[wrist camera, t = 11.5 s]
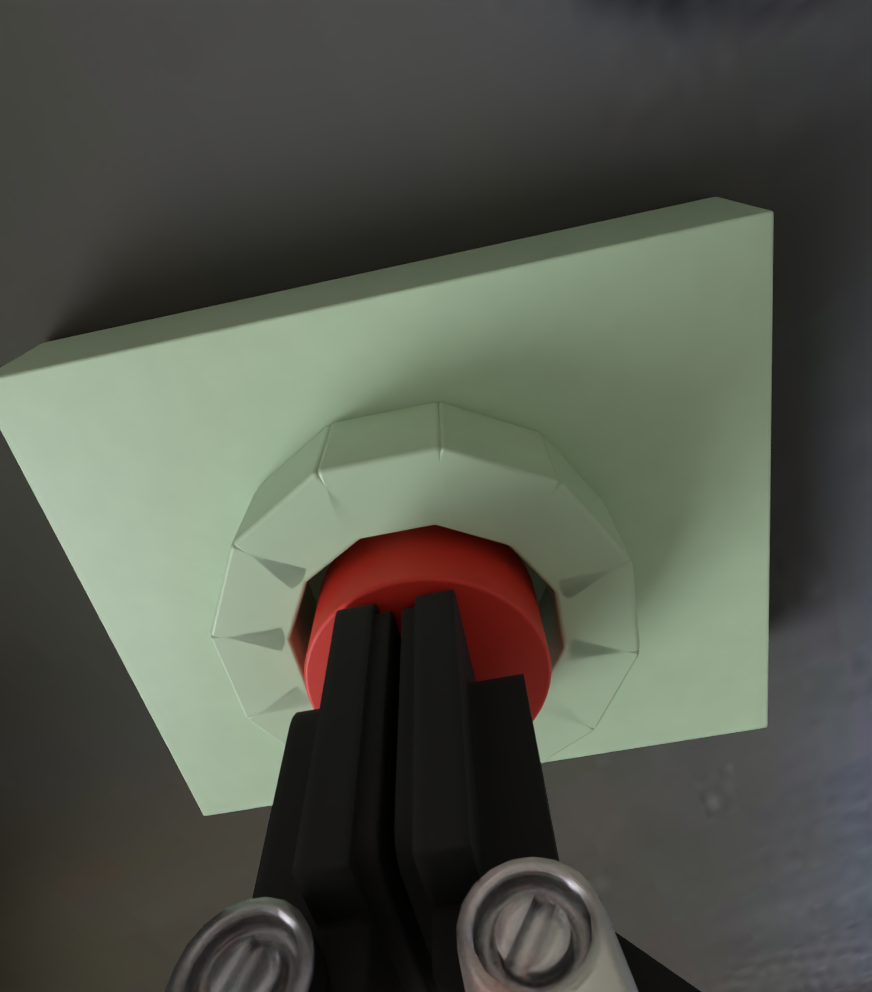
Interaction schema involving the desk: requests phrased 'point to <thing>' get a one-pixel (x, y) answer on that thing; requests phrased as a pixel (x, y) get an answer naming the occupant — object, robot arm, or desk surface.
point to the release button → (434, 568)
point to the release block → (431, 476)
